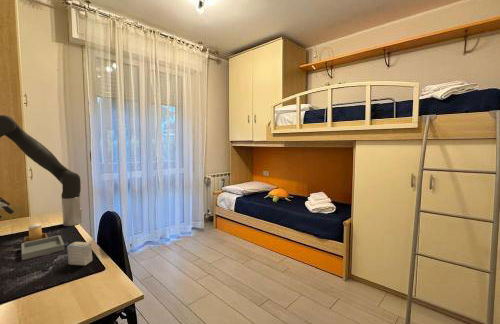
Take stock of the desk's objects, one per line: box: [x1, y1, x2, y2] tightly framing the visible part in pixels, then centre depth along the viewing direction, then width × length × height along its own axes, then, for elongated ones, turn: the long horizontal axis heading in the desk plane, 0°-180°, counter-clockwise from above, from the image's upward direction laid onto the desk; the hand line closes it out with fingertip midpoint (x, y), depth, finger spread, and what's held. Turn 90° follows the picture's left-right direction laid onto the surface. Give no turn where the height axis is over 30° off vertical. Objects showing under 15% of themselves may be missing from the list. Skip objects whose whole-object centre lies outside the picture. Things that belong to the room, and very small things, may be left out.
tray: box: [20, 234, 65, 261], centre depth 117 cm, size 15×15×3 cm
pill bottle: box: [27, 222, 43, 241], centre depth 125 cm, size 5×5×9 cm
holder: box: [23, 232, 49, 243], centre depth 126 cm, size 9×9×2 cm
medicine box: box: [66, 241, 93, 266], centre depth 105 cm, size 8×4×9 cm, turn 84°
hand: (6, 215), depth 122 cm, fingers open, 8 cm apart
